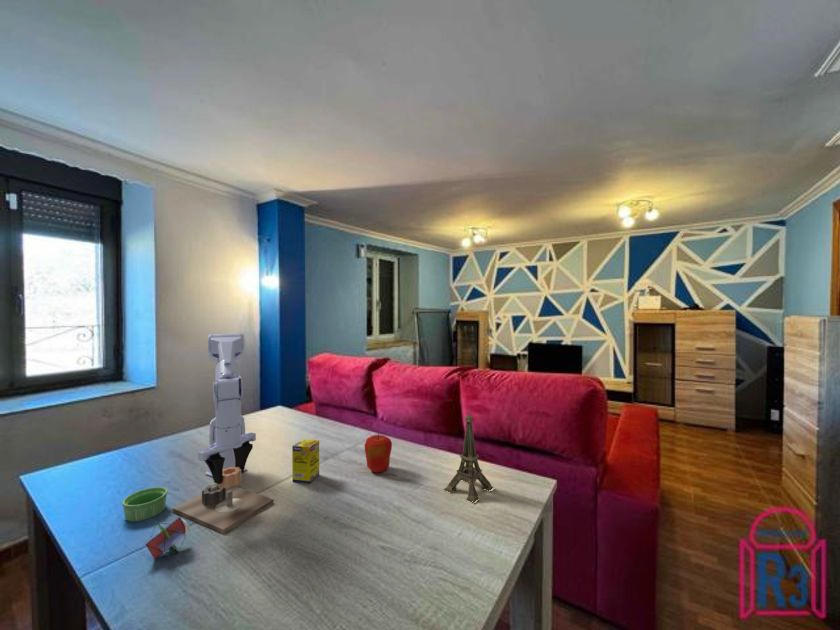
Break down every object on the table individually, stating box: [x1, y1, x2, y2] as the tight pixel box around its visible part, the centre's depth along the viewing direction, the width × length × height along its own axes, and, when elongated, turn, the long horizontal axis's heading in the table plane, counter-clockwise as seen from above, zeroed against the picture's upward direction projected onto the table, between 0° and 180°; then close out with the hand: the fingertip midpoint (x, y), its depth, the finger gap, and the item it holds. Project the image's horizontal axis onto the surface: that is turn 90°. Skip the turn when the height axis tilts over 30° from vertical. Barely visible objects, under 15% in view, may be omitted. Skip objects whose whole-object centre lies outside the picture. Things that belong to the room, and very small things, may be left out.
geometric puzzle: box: [145, 516, 191, 560], centre depth 73 cm, size 7×7×8 cm
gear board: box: [171, 483, 274, 535], centre depth 90 cm, size 20×14×4 cm
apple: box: [364, 433, 393, 474], centre depth 110 cm, size 9×8×12 cm
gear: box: [216, 467, 242, 488], centre depth 88 cm, size 5×5×3 cm
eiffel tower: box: [442, 407, 494, 505], centre depth 98 cm, size 11×11×25 cm
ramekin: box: [122, 486, 169, 522], centre depth 88 cm, size 9×9×4 cm
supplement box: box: [291, 438, 320, 484], centre depth 105 cm, size 6×6×11 cm
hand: (229, 477), depth 89 cm, fingers closed on gear, 5 cm apart
